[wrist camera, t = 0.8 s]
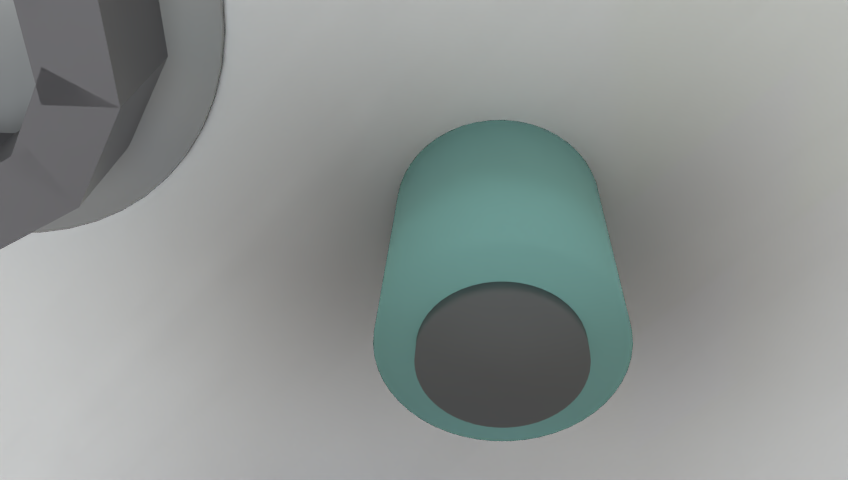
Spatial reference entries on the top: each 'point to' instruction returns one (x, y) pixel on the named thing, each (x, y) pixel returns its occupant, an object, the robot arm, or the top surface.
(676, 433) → the top surface
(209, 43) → the ring
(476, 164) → the teal capped cylinder
